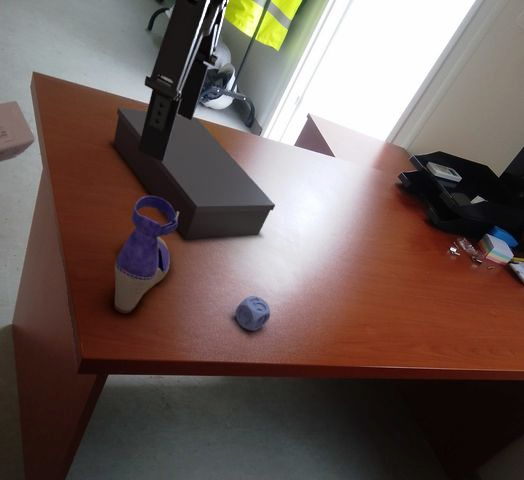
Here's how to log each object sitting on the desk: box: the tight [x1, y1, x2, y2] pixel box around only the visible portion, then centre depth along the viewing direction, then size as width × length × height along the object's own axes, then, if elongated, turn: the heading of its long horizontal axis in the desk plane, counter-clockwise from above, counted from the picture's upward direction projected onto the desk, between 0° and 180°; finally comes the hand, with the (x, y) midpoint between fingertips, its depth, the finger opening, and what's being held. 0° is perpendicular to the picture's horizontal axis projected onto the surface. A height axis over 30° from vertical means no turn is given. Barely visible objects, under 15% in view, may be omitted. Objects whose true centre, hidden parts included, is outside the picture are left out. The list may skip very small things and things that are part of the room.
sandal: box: [113, 195, 179, 314], centre depth 66 cm, size 8×20×15 cm, turn 170°
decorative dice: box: [235, 295, 271, 331], centre depth 73 cm, size 4×4×4 cm
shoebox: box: [112, 107, 276, 241], centre depth 91 cm, size 31×19×7 cm, turn 39°
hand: (167, 133), depth 53 cm, fingers open, 13 cm apart
